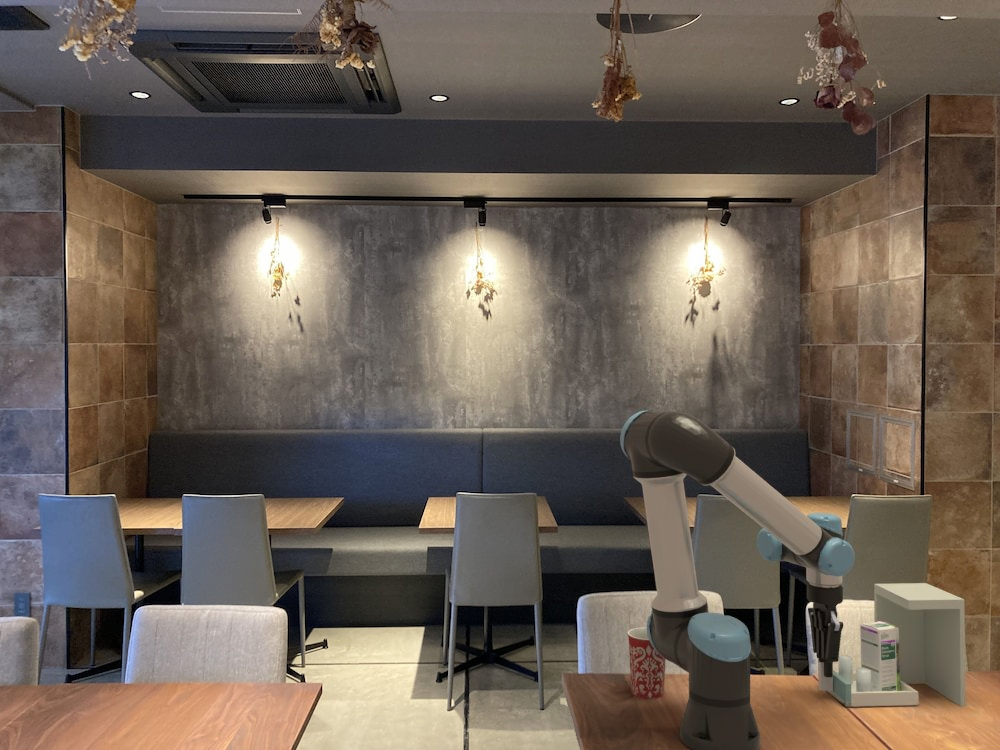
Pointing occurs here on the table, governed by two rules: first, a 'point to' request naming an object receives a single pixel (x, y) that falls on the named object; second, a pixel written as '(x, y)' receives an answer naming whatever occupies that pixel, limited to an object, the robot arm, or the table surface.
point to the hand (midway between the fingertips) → (825, 689)
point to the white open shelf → (926, 635)
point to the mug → (645, 665)
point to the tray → (884, 696)
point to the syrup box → (881, 655)
